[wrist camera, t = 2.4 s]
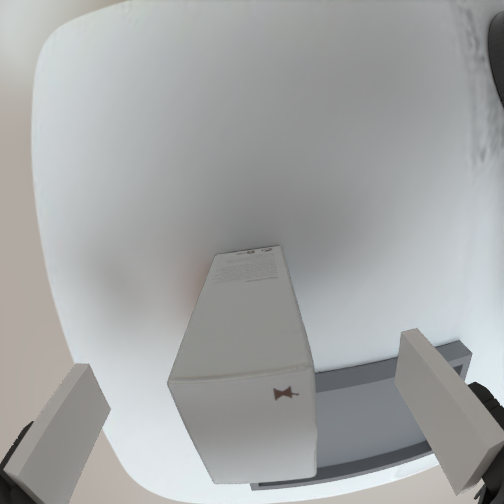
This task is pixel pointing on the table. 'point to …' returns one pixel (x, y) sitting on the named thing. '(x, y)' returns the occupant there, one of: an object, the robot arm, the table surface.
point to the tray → (366, 421)
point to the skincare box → (248, 373)
